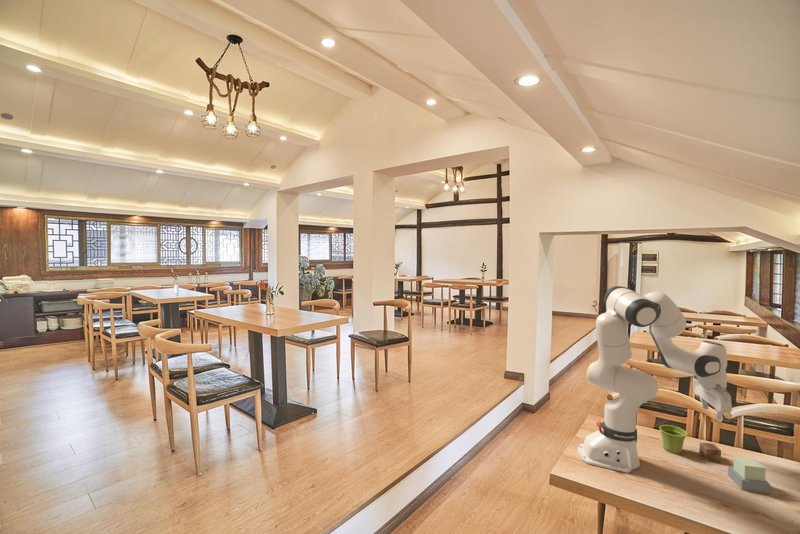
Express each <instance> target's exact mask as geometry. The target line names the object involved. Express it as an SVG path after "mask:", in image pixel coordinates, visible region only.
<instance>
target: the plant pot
mask: <svg viewBox="0 0 800 534" xmlns="http://www.w3.org/2000/svg"><path fill="white" fill-rule="evenodd" d="M659 430H660V433H661V438H662V446H663V448H664V450H665V451H667V452H669V453H671V454H672V453H673V454H680V453H682V451H683V447H684V446H683V445H684V442H685V439H686V437H687V436H688V433H687V431H686V430H684V429H682V428H680V427H678V426H676V425H670V424H662V425H660V426H659Z"/></svg>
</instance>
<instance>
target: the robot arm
mask: <svg viewBox="0 0 800 534" xmlns="http://www.w3.org/2000/svg"><path fill="white" fill-rule="evenodd" d="M602 309H603V311H604V312H603V313H601V314H599V315H597V317H596V320H595V334H596V335H595V337H596V341H597V347H598V359H597V360H595V361H593V362H591V363H590V364H588V365H589V366H587V370H586V377H587V380H588V381H589V382H590V383H591V384H593V385H594V386H596V387H598V388H600V389H602V390H605V391H609V392H614V393H615V394H618V395H619V397H618V398H617V399H616V398H615V399H611V400H608V401H607V402H606V403H605V405H604V417H603V418H604V421H603V422H601V420H599V419H597V420H595V424H596V426H597V427H598V430H595V431H593V432H591V433H589V434H587V435H586V436H585V438H584V440H583V443H579V445H578V446H577V453H578V456H579V457H580V458H581V460H582V461H583V462H585V463H586V464H587V465H592V466H597V467H601V468H605V469H609V470H613V471H619V472H624V473H627V474H629V473H631V472H632V471H633V470H636V469H639V468H640V466H641V461H640V459H639V453H638V448H637V442H638V429H637V415H638V410H639V408H640V407H641V406H642V405H643V404H644V403H646V402H648V401H651V400H653V399H654V398H656V396H657V394H658V392H659V384H658V381H657V380H656V378H655V377H654V376H653V375H651V374H648V373H646V372H644V371H642V370H639V369H633V368H631V367H630V368H629V367H626V366H622V365H624V364H625V363H627V362H630V360H631V358H632V353H633V352H632V348H631V342H630V335H629V332H628V326H629V325H632V326H635V327H638V328H646V327H649V333H650V336H651V338H652V340H653V343H654V344H655V347H656V348H657V351H658V353H659V357H660V362H661V363H662V365H663V366H664V367H665V368H667V369H671V370H675V371H676V370H677V371H679V372H682V373H685V374H689V375H692V378H693V381H692V383H693V384H692V386H693V391H694V394H696V395H697V396H698V397H699V400H700V403H701V408H702V409H703V410H709V405H710V406H711V407H713V408H714V409H715V412H716V413H714V415H713V416H714V418H715V419H716V420H718V421H721V420H723V415H724V414H731V413H732V411H733V405H732V396H731V394H730V393H729V392H728V390H727V389H726V388H727V387H728V386H727V383H728V382H727V380H728V379H727V378H728V374H727V371H726V370H727V367H728V353H727V349H726V346H725V345H724V344H722V343H719V342H715V341H709V340H702V341H700V344H699V347H698V348H697V349H694V350H693V349H688V348H685V347H681V346H679V345H676V344H674V342H673V341H672V338H675V337H678V336H680V335H681V334H683V332H684V331H685V330H686V328H687V320H686V317H685V316H684V314H683V313H682V311H681V310H680V308H679V307H678V306H677V304H676V303H675V302H674V301H673V299H671V298H670V297H669V296H668V295H667V294H666V293H664V292H661V291H651V292H648V293H646V294H645V295H644V296H643V295H641V294H640V293H638V292H636V291H634V290H632V289H629V288H627V287H625V286H619V285H617V286H616V285H615V286H612V287H610V288H608V289H607V291H606V292H605V294H604V298H603V304H602Z"/></svg>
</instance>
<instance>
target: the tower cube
mask: <svg viewBox="0 0 800 534" xmlns="http://www.w3.org/2000/svg"><path fill="white" fill-rule="evenodd" d="M733 467H734V470H735V471H736V472H737V473H738V474H740V475H741V476H742V477H743V478H744V479H748V480H756V481H765V480H766V467H765V466H764V465H762V464H761V463H759V461H757V460H756V459H755V458H754V457H745V456H737V455H734V456H733Z"/></svg>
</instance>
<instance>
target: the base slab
mask: <svg viewBox="0 0 800 534" xmlns="http://www.w3.org/2000/svg"><path fill="white" fill-rule="evenodd" d="M728 476H729V477H730V478H731V479H732V480H733V481H734V482H733V481H732V482H733V483H734V484H735V485H736V486H737V487H738V488H739V489H740V490H742V491H747V492H748V491H749V492H756V493H762V494H770V488H771V487H770V485H771V484H770V482H769V481H768V480H766V479H765V481H756V480H748V479H744V478H743V477H742V476H741V475H740V474H738V473H737V472H736V471H735V470H734V466H733V467H732V466H727V477H728ZM730 478H729V479H730ZM731 479H730V480H731Z"/></svg>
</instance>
